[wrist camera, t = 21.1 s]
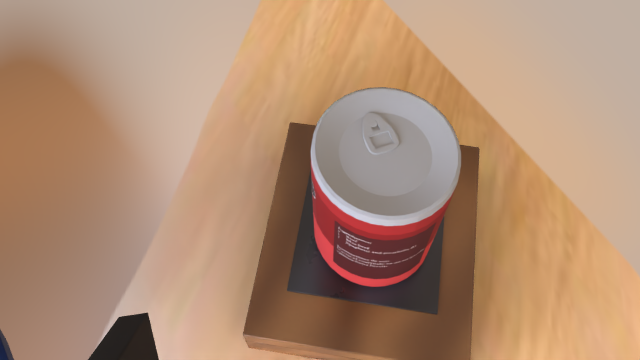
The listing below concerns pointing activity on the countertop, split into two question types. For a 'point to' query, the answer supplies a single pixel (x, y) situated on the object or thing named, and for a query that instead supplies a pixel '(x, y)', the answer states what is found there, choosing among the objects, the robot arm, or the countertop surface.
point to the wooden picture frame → (353, 299)
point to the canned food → (381, 183)
